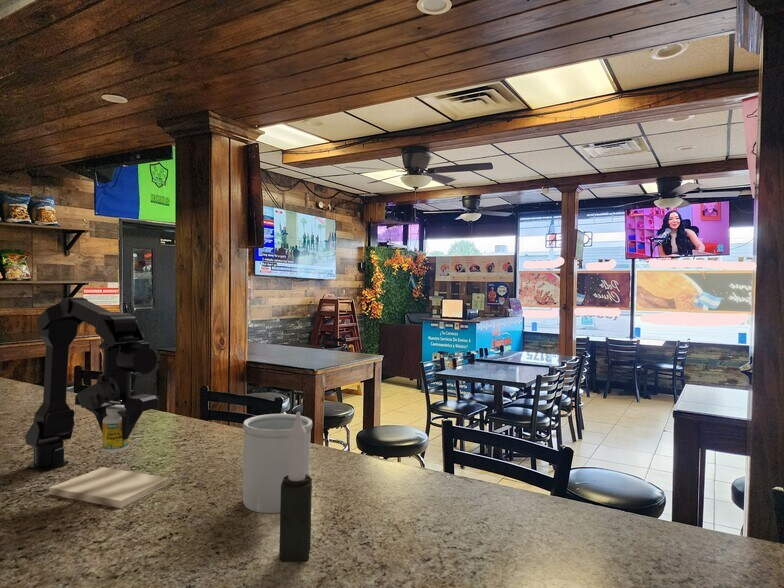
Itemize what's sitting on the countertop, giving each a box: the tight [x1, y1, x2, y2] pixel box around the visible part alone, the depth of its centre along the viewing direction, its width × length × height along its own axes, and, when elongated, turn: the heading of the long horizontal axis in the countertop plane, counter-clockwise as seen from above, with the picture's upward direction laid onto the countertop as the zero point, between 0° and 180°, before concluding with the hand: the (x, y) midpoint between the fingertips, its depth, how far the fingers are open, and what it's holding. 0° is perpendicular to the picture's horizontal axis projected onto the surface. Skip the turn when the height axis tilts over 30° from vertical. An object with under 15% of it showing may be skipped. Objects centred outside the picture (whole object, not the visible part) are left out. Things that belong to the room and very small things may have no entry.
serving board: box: [48, 466, 170, 509], centre depth 115 cm, size 20×14×2 cm
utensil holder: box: [242, 413, 313, 514], centre depth 111 cm, size 15×15×18 cm
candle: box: [278, 411, 313, 563], centre depth 88 cm, size 5×5×25 cm
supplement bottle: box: [101, 404, 130, 453], centre depth 115 cm, size 5×5×10 cm
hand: (115, 437), depth 115 cm, fingers closed on supplement bottle, 5 cm apart
